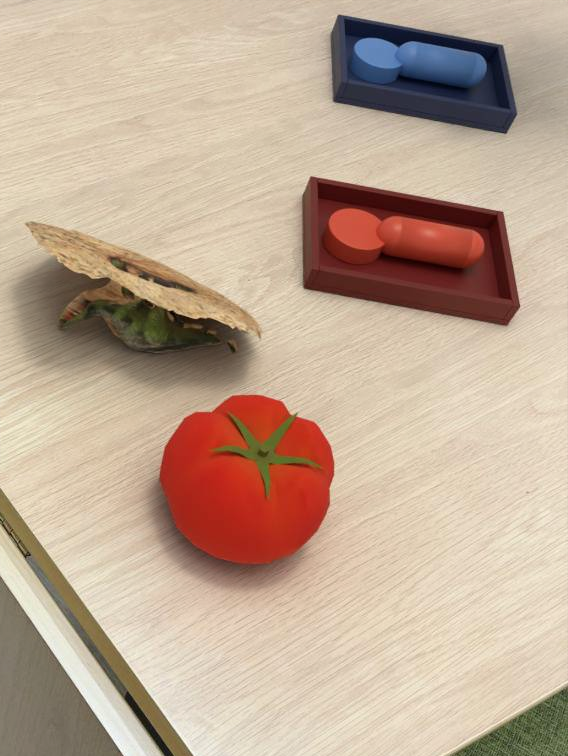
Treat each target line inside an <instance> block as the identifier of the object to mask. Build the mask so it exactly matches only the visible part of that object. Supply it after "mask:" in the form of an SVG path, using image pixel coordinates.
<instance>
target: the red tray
mask: <svg viewBox="0 0 568 756" xmlns="http://www.w3.org/2000/svg"><path fill="white" fill-rule="evenodd" d="M349 208H351V209H359V210H363V211H366V212H368V213H370V214H372V215H374V216H375V217H377V218H378V219H379V220H380V221H381V222H382V221H383V220H385V219H387V218H389V217H393V216H401V217H406V218H411V219H417V220H422V221H428V222H433V223H438V224H444V225H449V226H455V227H460V228H465V229H471V230H474V231H476V232H477V233H478V234H480V235H481V237H482V239H483V241H484V252H483V255H482V257H481V258H480V260H479V261H478V262H477V263H476V264H474V265H472V266H471V267H468V268H454V267H449V266H443V265H438V264H432V263H427V262H422V261H416V260H411V259H405V258H400V257H394V256H389V255H386V254H383V253H382V252H381V253H380V255H379V257H378V258H377V259H376V260H375V261H373V262H371V263H368V264H363V265H356V264H350V263H346V262H344V261H341V260H339V259H337V258H336V257H334V256H333V255H332V254H330V253H329V252H328V251H327V249H326V248H325V246H324V244H323V241H322V235H323V232H324V230H325V227H326V225H327V223H328V221H329V219H330V217H331V215H332V214H334V213H335V212H336V211H339V210H342V209H349ZM509 241H510V240H509V236H508V231H507V224H506V217H505V213H504V211H502V210H496V209H492V208H485V207H481V206H480V207H479V206H475V205H468V204H463V203H458V202H453V201H447V200H443V199H437V198H431V197H426V196H421V195H415V194H410V193H404V192H399V191H394V190H388V189H383V188H377V187H373V186H372V187H371V186H367V185H362V184H356V183H350V182H344V181H340V180H333V179H329V178H323V177H317V176H313V175H311V176H310V177H309V179H308V181H307V183H306V186H305V188H304V191H303V193H302V266H303V267H302V276H303V277H302V279H303V281H302V283H303V284H302V285H303V286H302V287H303V289H308V290H313V291H319V292H325V293H330V294H335V295H340V296H346V297H352V298H356V299H362V300H367V301H373V302H379V303H384V304H389V305H393V306H394V305H395V306H400V307H405V308H410V309H416V310H421V311H426V312H433V313H438V314H442V315H443V314H444V315H449V316H456V317H459V318H465V319H471V320H475V321H476V320H477V321H482V322H487V323H494V324H499V325H502V326H503V325H504V326H508V325H509V324H510V322H511V321H512V319H513V318H514V316H515V315H516V314H517V313H518V311H519V309H520V308H521V302H520V297H519V292H518V286H517V280H516V273H515V270H514V264H513V258H512V257H513V256H512V252H511V247H510V242H509Z"/></svg>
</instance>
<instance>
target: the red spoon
mask: <svg viewBox="0 0 568 756" xmlns="http://www.w3.org/2000/svg"><path fill="white" fill-rule="evenodd" d="M322 241H323V244H324V246H325V248H326V249H327V251H328V252H329V253H330V254H332V255H333V256H334V257H336V258H337V259H339V260H341V261H344V262H346V263H350V264H356V265H363V264H368V263H371V262H373V261H375V260H376V259H377V258H378V257H379V255H380V253H381V252H382V253H383V254H386V255H389V256H394V257H400V258H405V259H411V260H416V261H422V262H427V263H432V264H438V265H443V266H449V267H454V268H468V267H471V266H472V265H474V264H476V263H477V262H478V261H479V260H480V258H481V257H482V255H483V252H484V241H483V239H482V237H481V235H480V234H478V233H477V232H476V231H474V230H471V229H465V228H460V227H455V226H449V225H444V224H438V223H433V222H428V221H422V220H417V219H411V218H406V217H401V216H393V217H389V218H387V219H385V220H383V221H382V222H381V221H380V220H379V219H378V218H377V217H375V216H374V215H372V214H370V213H368V212H366V211H363V210H359V209H351V208H349V209H342V210H339V211H336V212H335V213H334V214H332V215H331V217H330V219H329V221H328V223H327V225H326V227H325V230H324V232H323V235H322Z"/></svg>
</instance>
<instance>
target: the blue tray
mask: <svg viewBox="0 0 568 756" xmlns="http://www.w3.org/2000/svg"><path fill="white" fill-rule="evenodd" d="M365 38H377V39H382V40H385V41H388V42H390V43H392V44H394V45H396V46H397V47H398V48H399V47H400V46H401V45H403V44H405V43H407V42H420V43H425V44H431V45H436V46H441V47H447V48H452V49H457V50H463V51H468V52H473V53H477V54H480V55H481V56H482V57H483V58H484V59H485V61H486V65H487V70H486V74H485V76H484V78H483V79H482V80H481V82H480V83H478V84H477V85H475V86H473V87H470V88H461V87H456V86H450V85H445V84H439V83H434V82H429V81H423V80H418V79H413V78H407V77H403V76H400V75H398V77H397V79H396V80H395V81H393V82H391V83H387V84H376V83H371V82H367V81H365V80H363V79H361V78H359V77H357V76H356V75H355V74H354V73H353V72H352V71H351V70H350V68H349V65H348V61H349V58H350V56H351V54H352V51H353V49H354V46H355V44H356V43H357V42H358V41H359V40H361V39H365ZM330 45H331V48H330V49H331V71H332V95H333V102H334V103H335V102H336V103H339V104H340V103H341V104H347V105H352V106H357V107H362V108H368V109H374V110H378V111H383V112H384V111H385V112H389V113H394V114H402V115H404V116H411V117H416V118H422V119H427V120H433V121H437V122H442V123H443V122H444V123H448V124H454V125H459V126H460V125H461V126H463V127H470V128H475V129H480V130H487V131H492V132H495V133H496V132H497V133H502V134H507V133H508V131H509V130H510V128H511V127H512V125H513V123H514V122H515V119H516V118H517V116H518V110H517V105H516V99H515V95H514V90H513V86H512V82H511V77H510V73H509V72H510V71H509V67H508V63H507V57H506V52H505V48H504V45H503V44H499V43H495V42H491V41H490V42H489V41H484V40H479V39H474V38H468V37H462V36H457V35H453V34H447V33H441V32H436V31H430V30H426V29H419V28H414V27H410V26H409V27H408V26H404V25H398V24H394V23H386V22H383V21H377V20H372V19H366V18H361V17H356V16H351V15H345V14H339V13H338V14H337V16H336V19H335V22H334V25H333V27H332V29H331V32H330Z"/></svg>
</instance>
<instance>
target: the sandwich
mask: <svg viewBox="0 0 568 756" xmlns="http://www.w3.org/2000/svg"><path fill="white" fill-rule="evenodd" d="M24 225H25V226H26V227H27V228H28V229H29V231H30V233H31V235H32V237H33V238H35V241H36V242H37V244H36V245H37V246H40V247H42V248H44V251H45V252H48V253H49V254H50V255H52V256H56V258H57V261H58V263H61V264H63V265H64V266H65V267H66V268H68V269H69V270H70V271H72V272H74V273H77V274H84V275H86V276H88V277H89V278H91V279H92V280H93V279H94V280H95V279H102V278H108V279H109V281H108V282H107V284H105V286H102V287H98V288H91V289H87V290H85V291H83V292H81V293H80V294H78V295H77V296H76V297H75V298H73V299H72V300H71V301H70V302H69V303H68V304H67V305H65V307H64V308H63V310H62V311H61V313H60V315H59V318H58V320H57V322H56V327H57V329H58V330H64V329H65V328H67V327H69V326H70V325H71V323H73V322H77V321H83V320H87V319H90V318H92V317H95V316H97V317H101V318H103V320H104V322H105V323H106V325H107V326H108V328H109V329H110V331H111V332H112V333H113V335H114V336H115V337H116V338H117V339H119V340H120V341H121V342H122V343H123V344H125V345H126V346H127V347H129V349H132V350H134V351H137V352H138V351H139V352H147V353H153V354H156V355H164V354H166V353H173V352H181V351H185V350H187V349H192V348H193V349H194V348H198V347H204V346H213V345H214V346H215V345H220V344H221V343H222V340H221V339H220V338H219V337H217V336H216V334H217V333H218V332H217V331H216V330H215V329H208V330H207V332H203V331H202V329H203V327H204V326H203V325H201V324H199V323H195V322H188V321H182V320H180V319H179V318H178V317H177V316H176V314H177V315H181V316H185V317H188V318H190V319H194V320H198V319H200V318H201V319H205V320H206V319H208V318H209V319H213V320H215V321H218V322H220V323H222V324H224V325H226V326H229V327H230V328H231V329H234V328H237V329H238V330H239V331H240V332H243V333H246V334H249V335H250V333H251V332H253V334H254V336H257V337H258V339H259V341H262V334H263V335H265V332H264V330H263V329H262V327H261V326H260V325H259V323H258V322H257V320H256V319H255V318H254V316H253V315H252V314H251V313H250V312H249V311H248V310H247V309H245V308H242V307H240V305H238V304H237V303H236V302H234V301H232V300H231V299H229V298H228V297H227V296H225V295H223V294H221V293H220V292H218V291H216V290H215V289H212V288H211V287H208V286H206V285H204V284H202V283H199V282H198V281H197V280H195V279H192V278H191V277H189V276H188V275H186V274H184V273H182V272H180V271H178V270H176V269H174V268H172V267H170V266H168V265H166V264H164V263H162V262H160V261H156V260H154V259H152V258H149V257H147V256H145V255H143V254H140V253H138V252H135V251H133V250H130V249H127V248H125V247H121V246H119V245H115V244H113V243H110V242H107V241H104V240H101V239H98V238H96V237H93V236H92V235H88V234H86V233H83V232H81V231H77V230H72V229H65V228H63V227H58V226H54V225H51V224H46V223H41V222H37V221H27V222H24ZM147 301H148V302H150V303H151V304H152V305H149V304H147V303H146V302H147ZM225 342H226V344H227V346H228V348H229V351H230V352H231V353H232V354H236V353H237V352H238V346H237V343H236V341H235V340H234V339H232V338H227V339H226V340H225Z"/></svg>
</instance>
